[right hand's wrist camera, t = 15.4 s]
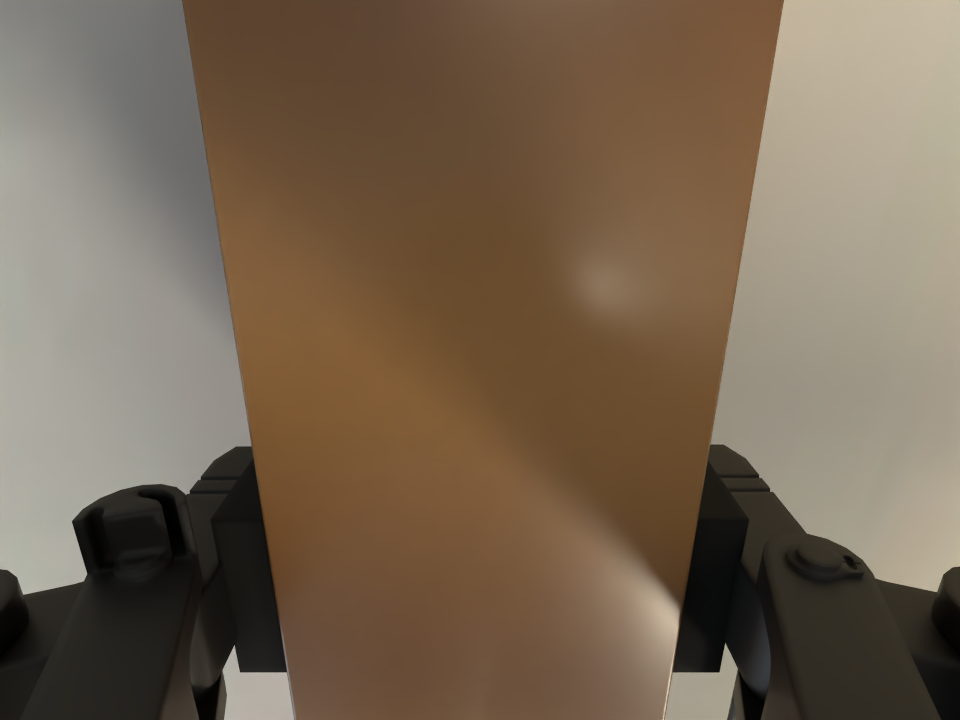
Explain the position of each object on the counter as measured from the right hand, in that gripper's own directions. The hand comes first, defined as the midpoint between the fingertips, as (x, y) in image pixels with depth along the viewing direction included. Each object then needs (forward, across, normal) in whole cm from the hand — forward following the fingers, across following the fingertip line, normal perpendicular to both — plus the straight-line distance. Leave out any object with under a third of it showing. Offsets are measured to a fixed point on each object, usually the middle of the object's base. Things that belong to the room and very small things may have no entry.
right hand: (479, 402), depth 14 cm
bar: (+1, 0, -26) cm, 26 cm away
